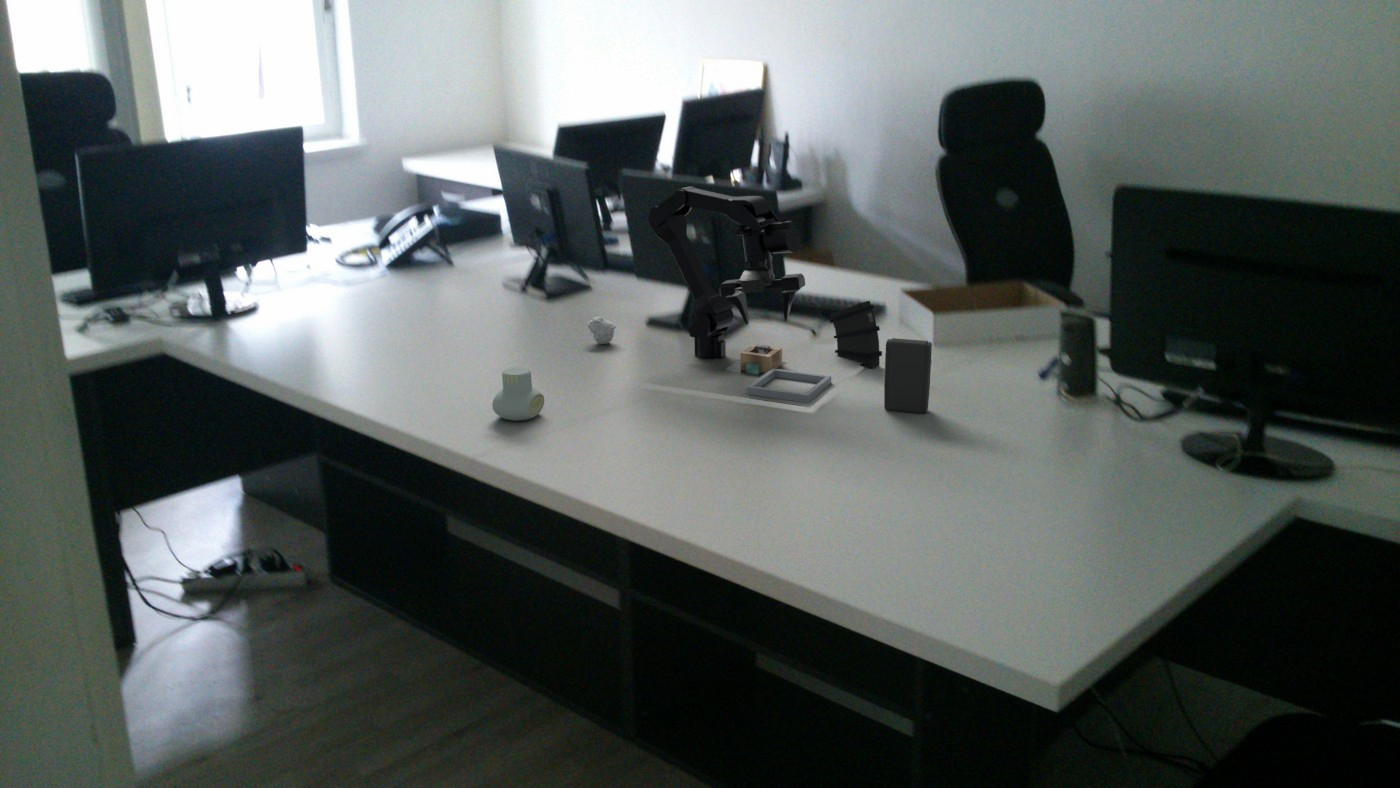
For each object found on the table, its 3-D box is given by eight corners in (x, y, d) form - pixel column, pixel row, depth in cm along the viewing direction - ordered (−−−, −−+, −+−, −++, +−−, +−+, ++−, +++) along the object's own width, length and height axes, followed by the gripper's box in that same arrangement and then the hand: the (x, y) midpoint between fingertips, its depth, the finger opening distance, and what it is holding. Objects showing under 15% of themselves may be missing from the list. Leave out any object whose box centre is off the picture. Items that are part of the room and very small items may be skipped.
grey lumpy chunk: (588, 341, 299) (587, 314, 297) (616, 339, 300) (615, 312, 298) (588, 348, 294) (587, 320, 291) (617, 346, 294) (616, 319, 292)
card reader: (930, 409, 248) (933, 339, 243) (927, 415, 245) (930, 345, 240) (886, 404, 251) (889, 336, 246) (882, 411, 248) (885, 341, 243)
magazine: (881, 365, 271) (861, 302, 271) (841, 377, 282) (822, 316, 282) (891, 362, 273) (872, 299, 274) (852, 374, 284) (833, 313, 284)
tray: (746, 397, 257) (746, 386, 256) (772, 378, 269) (772, 368, 268) (807, 406, 251) (807, 395, 250) (831, 387, 263) (831, 376, 262)
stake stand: (723, 374, 272) (723, 349, 270) (743, 361, 282) (743, 337, 280) (767, 380, 268) (767, 355, 266) (786, 366, 277) (786, 342, 275)
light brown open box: (737, 371, 271) (737, 354, 269) (753, 361, 278) (753, 344, 277) (766, 375, 268) (766, 358, 266) (782, 364, 275) (782, 348, 274)
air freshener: (524, 427, 242) (521, 380, 239) (488, 423, 245) (485, 377, 242) (549, 410, 252) (546, 365, 249) (514, 406, 255) (511, 361, 251)
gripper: (706, 264, 262) (716, 333, 266) (788, 256, 255) (797, 327, 259) (722, 255, 272) (732, 322, 276) (801, 247, 266) (810, 316, 269)
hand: (766, 322), depth 270 cm, fingers open, 9 cm apart
